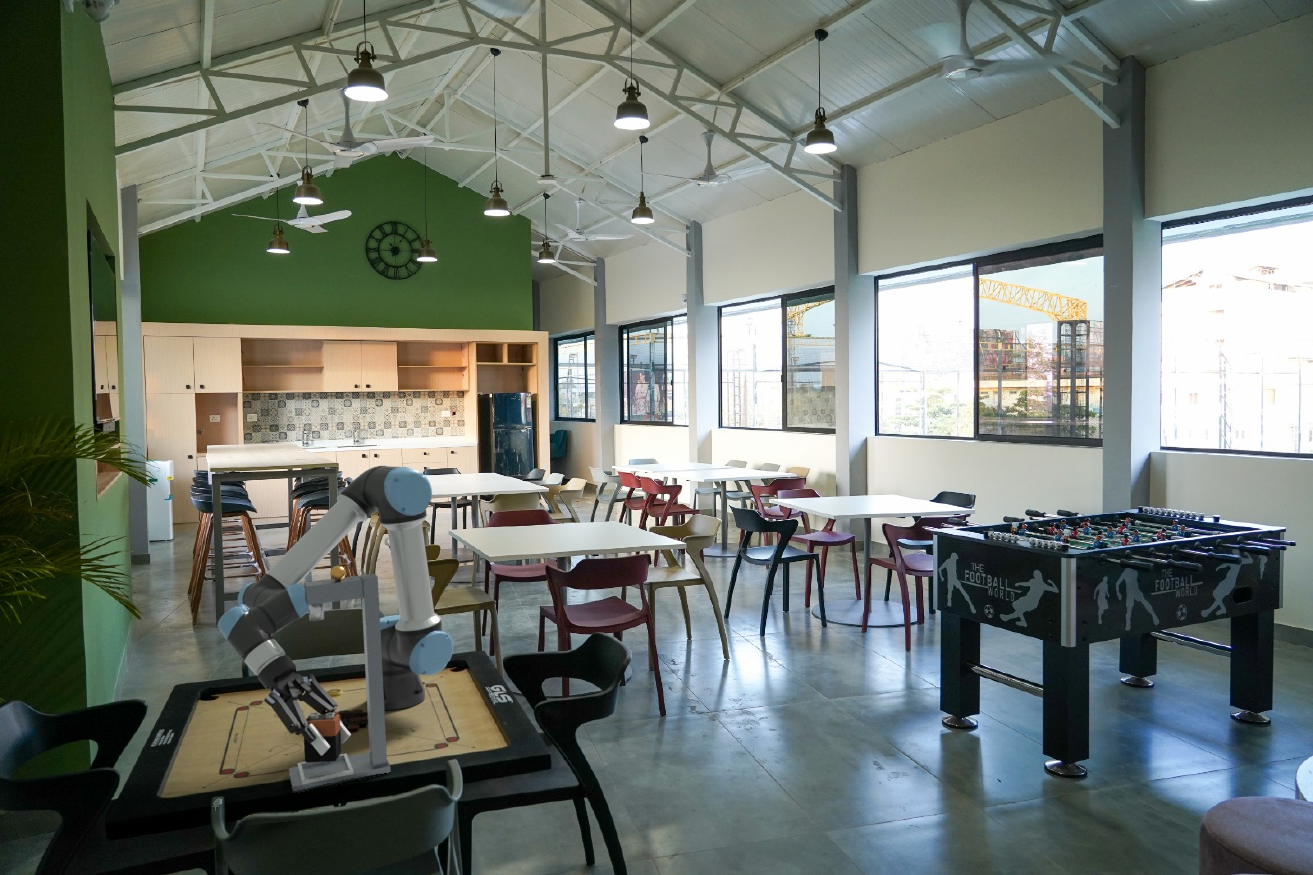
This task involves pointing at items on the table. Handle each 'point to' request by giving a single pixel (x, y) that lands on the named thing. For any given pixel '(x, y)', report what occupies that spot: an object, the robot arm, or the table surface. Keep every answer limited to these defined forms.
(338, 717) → the battery
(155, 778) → the table surface
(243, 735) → the table surface
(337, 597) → the arbor press
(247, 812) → the table surface
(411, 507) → the robot arm
